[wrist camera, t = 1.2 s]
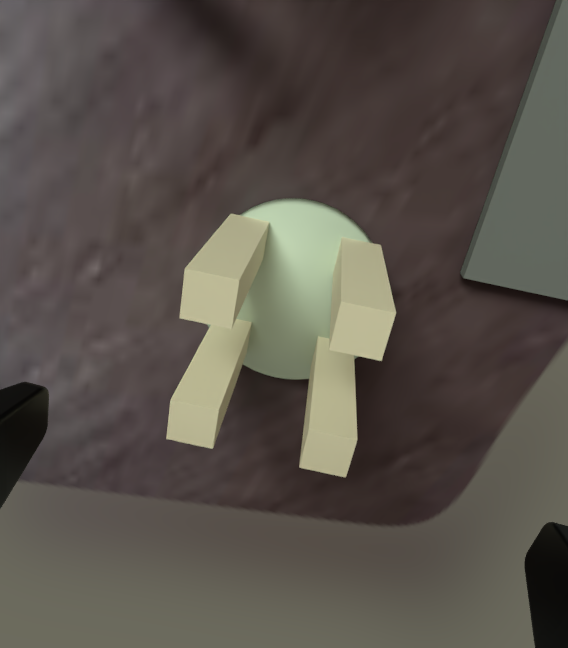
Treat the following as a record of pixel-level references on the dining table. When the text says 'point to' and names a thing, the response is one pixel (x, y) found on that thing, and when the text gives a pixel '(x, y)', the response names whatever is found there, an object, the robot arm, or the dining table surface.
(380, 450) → the dining table surface
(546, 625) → the robot arm
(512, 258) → the mat
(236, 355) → the stool
